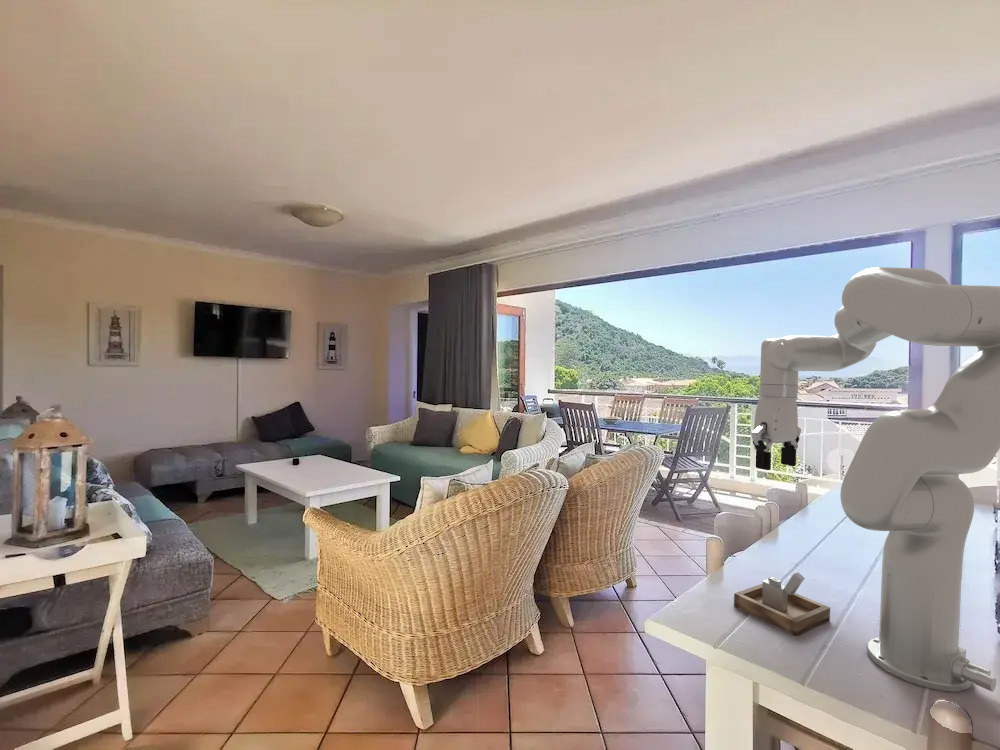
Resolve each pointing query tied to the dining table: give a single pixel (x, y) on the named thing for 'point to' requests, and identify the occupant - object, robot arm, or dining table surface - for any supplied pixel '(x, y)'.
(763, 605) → the tray
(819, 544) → the dining table surface
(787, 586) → the lighter
